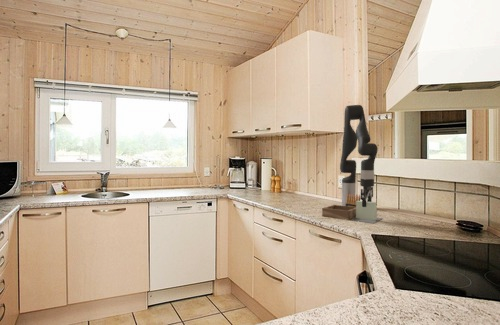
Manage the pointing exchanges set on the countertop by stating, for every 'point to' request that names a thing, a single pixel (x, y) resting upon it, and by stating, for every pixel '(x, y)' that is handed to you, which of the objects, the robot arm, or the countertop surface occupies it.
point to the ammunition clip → (352, 200)
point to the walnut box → (339, 212)
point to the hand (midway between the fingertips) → (366, 205)
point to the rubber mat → (366, 220)
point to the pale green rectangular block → (366, 210)
